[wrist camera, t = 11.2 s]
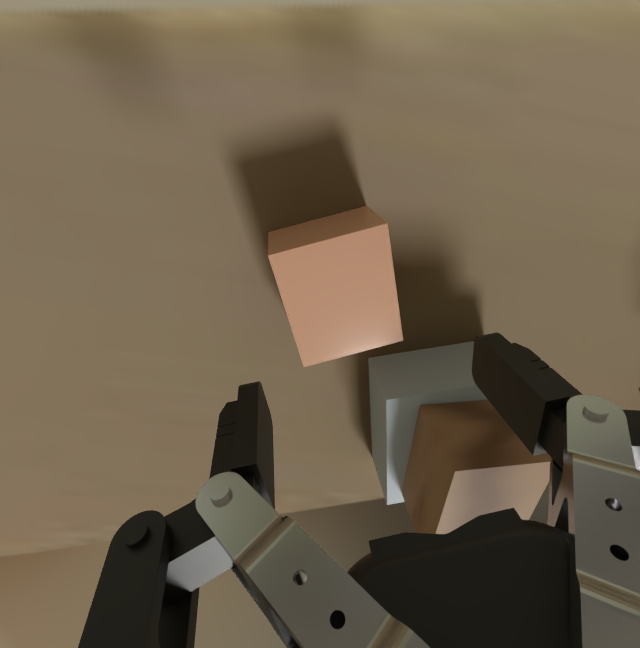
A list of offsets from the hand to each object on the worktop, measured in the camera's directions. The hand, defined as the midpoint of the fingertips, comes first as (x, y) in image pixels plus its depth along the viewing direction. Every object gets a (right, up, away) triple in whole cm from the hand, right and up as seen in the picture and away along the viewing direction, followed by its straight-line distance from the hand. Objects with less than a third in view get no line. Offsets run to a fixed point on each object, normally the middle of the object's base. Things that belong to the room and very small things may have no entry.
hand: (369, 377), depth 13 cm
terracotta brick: (-1, +5, +10) cm, 11 cm away
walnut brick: (+8, -7, +12) cm, 16 cm away
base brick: (+7, -4, +17) cm, 18 cm away
